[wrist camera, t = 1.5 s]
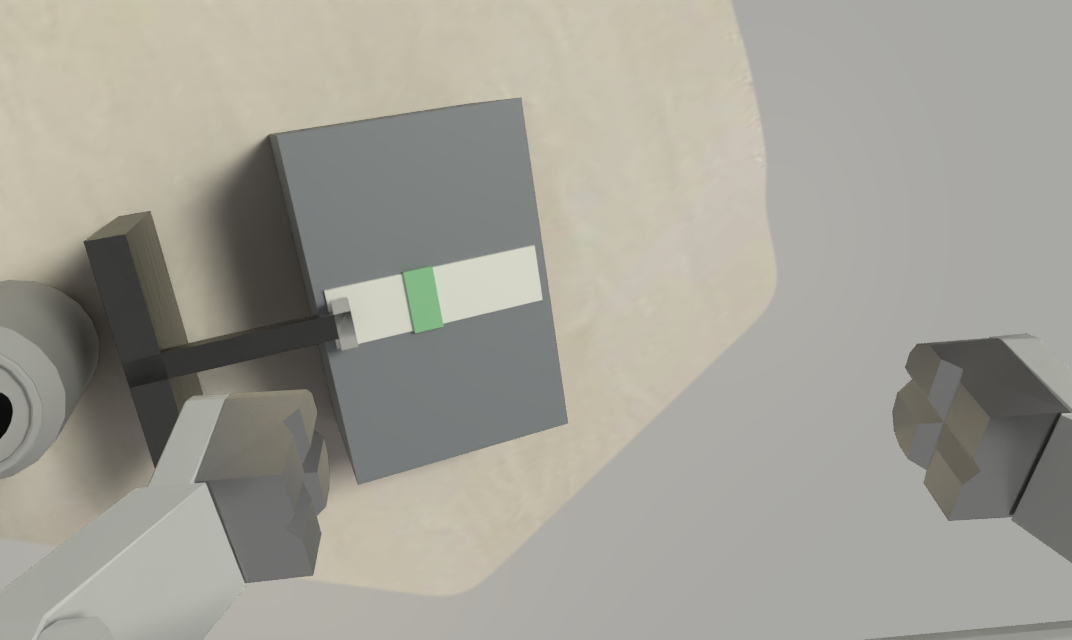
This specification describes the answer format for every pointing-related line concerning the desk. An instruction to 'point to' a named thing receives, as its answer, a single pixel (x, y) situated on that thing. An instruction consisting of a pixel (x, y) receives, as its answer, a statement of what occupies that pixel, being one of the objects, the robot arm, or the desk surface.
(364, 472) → the gauge housing
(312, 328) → the gauge plunger
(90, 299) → the desk surface
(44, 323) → the can
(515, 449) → the desk surface
